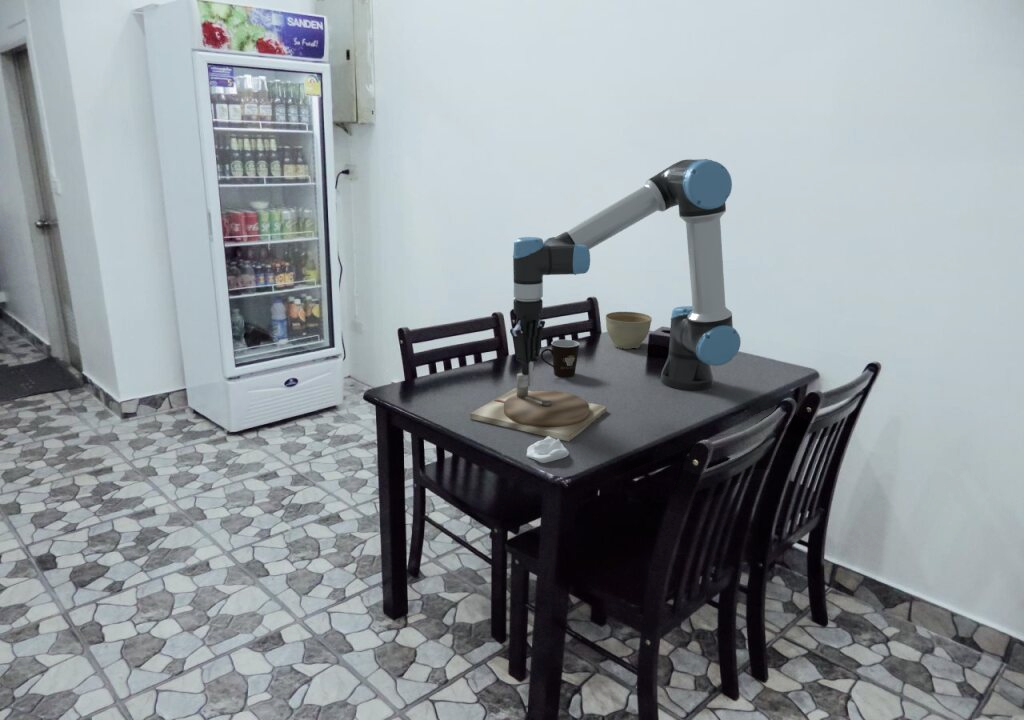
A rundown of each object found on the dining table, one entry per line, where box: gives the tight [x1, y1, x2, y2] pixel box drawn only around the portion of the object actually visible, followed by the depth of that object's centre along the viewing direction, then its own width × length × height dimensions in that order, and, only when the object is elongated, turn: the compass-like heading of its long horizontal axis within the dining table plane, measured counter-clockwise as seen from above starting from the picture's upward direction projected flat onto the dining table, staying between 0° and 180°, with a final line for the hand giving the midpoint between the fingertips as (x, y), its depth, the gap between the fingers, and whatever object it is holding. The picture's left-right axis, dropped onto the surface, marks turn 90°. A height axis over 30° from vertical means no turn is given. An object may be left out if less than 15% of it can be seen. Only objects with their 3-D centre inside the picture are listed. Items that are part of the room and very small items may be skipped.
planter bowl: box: [605, 311, 653, 350], centre depth 241 cm, size 16×16×11 cm
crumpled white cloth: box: [526, 436, 570, 464], centre depth 153 cm, size 10×4×10 cm
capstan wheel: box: [504, 372, 589, 427], centre depth 174 cm, size 22×22×8 cm
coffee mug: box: [540, 339, 580, 379], centre depth 209 cm, size 12×9×10 cm
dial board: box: [469, 387, 608, 442], centre depth 176 cm, size 28×23×2 cm
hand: (527, 384), depth 182 cm, fingers closed
